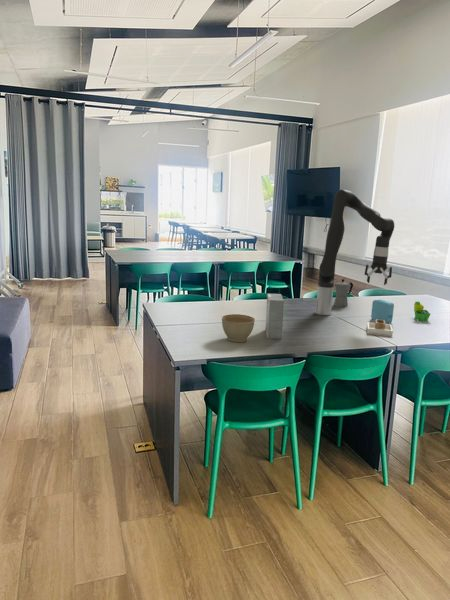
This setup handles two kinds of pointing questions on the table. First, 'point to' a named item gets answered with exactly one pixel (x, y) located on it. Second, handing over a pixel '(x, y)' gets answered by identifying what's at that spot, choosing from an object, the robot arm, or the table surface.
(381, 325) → the small crate
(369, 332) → the large crate
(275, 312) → the hard drive box
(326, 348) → the table surface
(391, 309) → the blue rounded block
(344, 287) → the coffeepot
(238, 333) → the planter bowl
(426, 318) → the fruit basket
